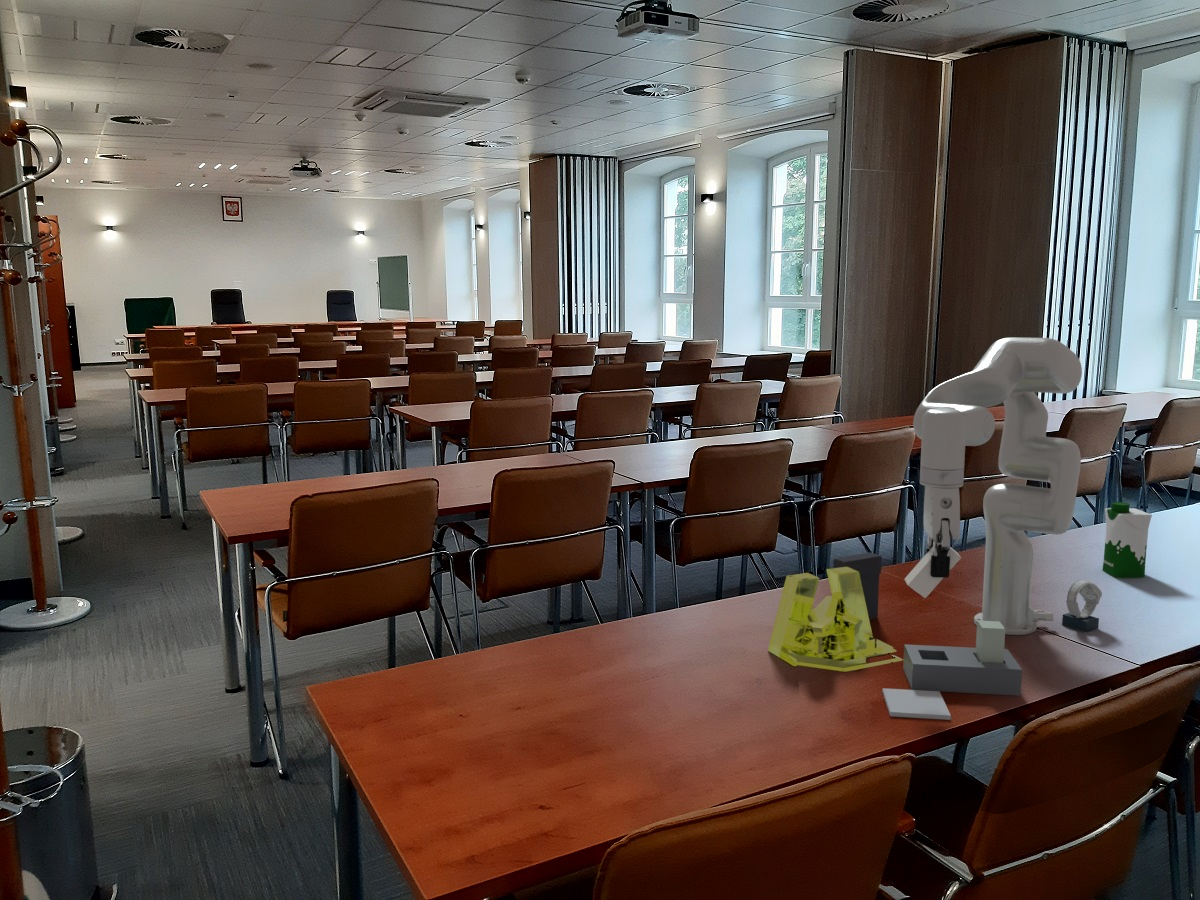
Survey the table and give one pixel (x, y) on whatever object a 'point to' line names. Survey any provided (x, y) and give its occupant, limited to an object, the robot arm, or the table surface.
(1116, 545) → the milk carton
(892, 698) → the mat
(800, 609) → the crystal
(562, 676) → the table surface
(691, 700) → the table surface
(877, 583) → the black block
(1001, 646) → the sage plug
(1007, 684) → the plate
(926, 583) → the white plug
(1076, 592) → the watch
